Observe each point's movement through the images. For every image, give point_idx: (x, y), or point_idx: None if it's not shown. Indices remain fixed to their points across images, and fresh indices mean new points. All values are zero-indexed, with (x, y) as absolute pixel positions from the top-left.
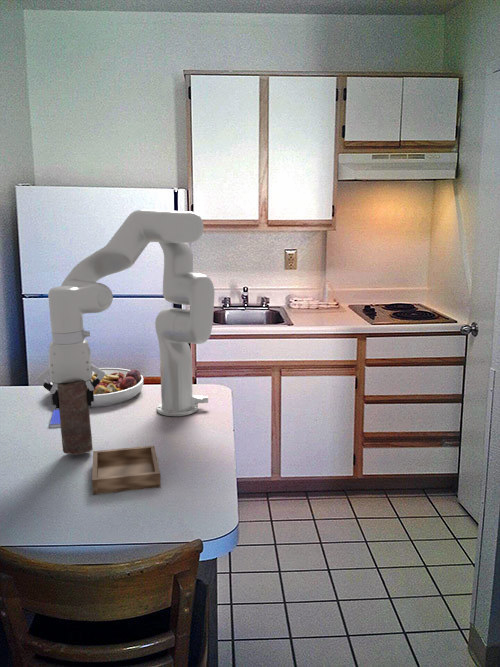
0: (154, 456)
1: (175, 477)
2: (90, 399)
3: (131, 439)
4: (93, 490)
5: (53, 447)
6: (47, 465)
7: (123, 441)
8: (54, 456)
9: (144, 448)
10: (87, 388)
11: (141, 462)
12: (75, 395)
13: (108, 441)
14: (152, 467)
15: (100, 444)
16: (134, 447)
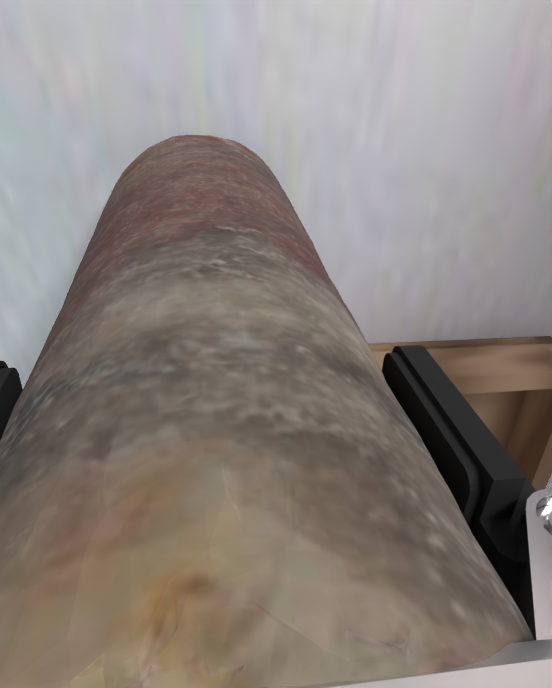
0: (543, 470)
1: (548, 485)
2: None
3: (534, 42)
4: None
5: (6, 36)
6: (44, 318)
7: (480, 65)
8: (55, 206)
9: (538, 388)
10: (469, 499)
11: (483, 398)
12: None
13: (392, 33)
14: (506, 442)
15: (336, 77)
16: (500, 376)
